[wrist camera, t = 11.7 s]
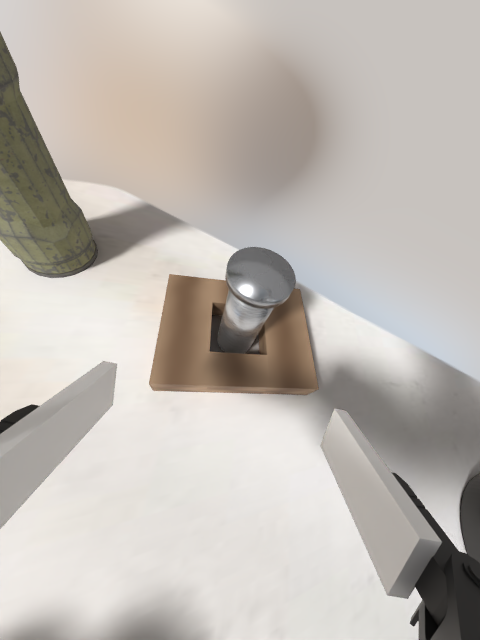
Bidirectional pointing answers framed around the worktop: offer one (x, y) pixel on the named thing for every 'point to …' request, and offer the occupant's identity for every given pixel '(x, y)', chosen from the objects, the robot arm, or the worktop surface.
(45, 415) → the robot arm
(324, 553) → the worktop surface
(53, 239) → the thermos
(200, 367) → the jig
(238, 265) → the metal peg
